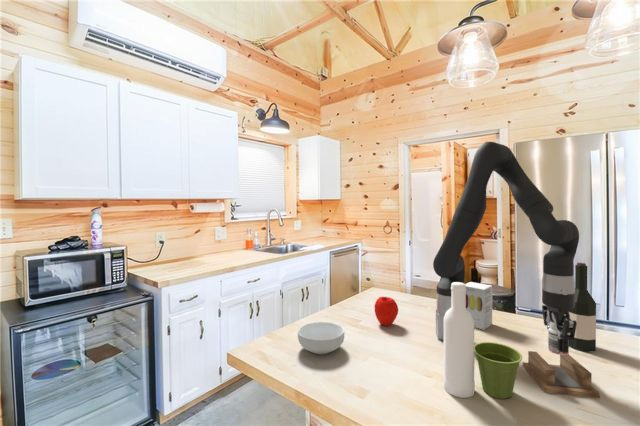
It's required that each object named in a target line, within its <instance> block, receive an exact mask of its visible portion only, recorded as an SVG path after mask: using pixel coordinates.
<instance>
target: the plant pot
mask: <svg viewBox="0 0 640 426" xmlns="http://www.w3.org/2000/svg"><path fill="white" fill-rule="evenodd" d="M474 355H475V358H476V361H477V366H478V370H479V371H478V372H479V376H480V382H481V387H482V390H483V391H484V392H486V393H487V394H488V395H489V396H490V397H493V398H495V399H501V400H502V399H503V400H504V399H507V398H511V397H512V396H513V392H514V386H515V384H516V383H515V382H516V376H517V372H518V368H519V366H520V362H521V361H522V360H523V355H522V353H521V352H519V350H517V349H516V348H514V347H511V346H509V345H506V344H502V343H498V342H492V341H484V342H481V341H480V342H477V343H474Z"/></svg>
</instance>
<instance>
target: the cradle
mask: <svg viewBox="0 0 640 426" xmlns="http://www.w3.org/2000/svg"><path fill="white" fill-rule="evenodd" d="M527 356H528V357H527V359H528V361H526V362H524V361H522V367H523V368H524V370H525V371H526V372H527V374H528V375H530V377H531V379H533V380H534V382H535V383H536V384H537V386H538V387H539V388H540V389H541V390H542V391H543V393H547V394H549V393H550V394H556V395H557V394H559V395H568V396H580V397H587V398H588V397H590V398H600V397H601V395H600V392H599V391H598V390H597V389H595V388H594V387H593V386H592V372H590V371H589V370H588V369H587V368H586V367H584V366H583V365H582V364H581V363H580V362H578V361H577V360H576V359H575V358H574V357H573V356H571V355H570V354H568V355H559V364H549V363H548V362H547V361H546V359H544V358H543V357H542V356H541V354H539V353H538V351H533V350H532V351H531V350H528V354H527Z"/></svg>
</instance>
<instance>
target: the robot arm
mask: <svg viewBox="0 0 640 426" xmlns="http://www.w3.org/2000/svg"><path fill="white" fill-rule="evenodd" d="M493 172H495V173H497V175H499V177H501V178H502V179H503V180H504V182H506V184H507V185H508V188H509V189H510V192H511V195H512V198H513V199H514V201H515V203H516V204H517V205H518V207H519V208H520V209H521V211H522V212H523V213H524V214H525V216H526V217H528V220H529V222H530V225H531V227H532V230H533V231H534V233H535V235H536V236H537V238H538V239H539V240H540V241H541V242H543V243H544V244H546V245H548V246H550V248H549V251H548V252H547V253H545V254H544V256H543V260H542V262H543V263H542V269H543V270H542V280H541V286H542V287H541V293H542V294H541V296H542V297H541V302H542V304H543V305H541V309H542V316H543V317H542V318H543V325H544V326H546V329H547V330H548V329H549V328H550V321H552V322H553V323H554V326H555V329H556V330H557V333H558V350H559V351H560V352H568V340H574V336H575V331H576V325H577V322H576V321H574V320H571V319H570V315H569V310H570V309H572V308H574V307H575V276H574V275H575V269H574V268H575V264H574V259H575V256H576V254H577V249H578V246H579V241H580V232H579V229H578V227H577V225H576V224H575V223H574V222H573V221H570V220H566V219H561V220H559V219H556V217H555V216H554V214H553V212H554V206H553V204H552V203H551V202H550V200H549V199H548V198H547V197H546V196H545V195H544V194H543V192H541V190H540V189H539V188H538V187H537V186H536V185H535V184H534V183H533V181H532V180H531V178H530V177H529V176H528V175H527V173H526V172H525V170H524V169H523V168H522V166H521V165H520V163H519V161H518V159H517V158H516V156H515V155H514V153H513V151H512V149H511V148H509V147H508V146H506V145H504V144H501V143H498V142H495V141H485V142H484V143H482V144H481V145H480V146H479V147H478V148H477V149H476V151H475V153H474V155H473V159H472V163H471V167H470V171H469V174H468V177H467V180H466V182H465V186H464V189H463V191H462V193H461V196H460V198H459V201H458V203H457V205H456V208H455V211H454V212H453V216H452V217H451V218H452V219H451V222H450V224H449V227H448V229H447V232H446V235H445V237H444V240H443V242H442V243H441V246H440V247H439V250H437V253H436V255H435V257H434V258H433V262H432V266H433V270H434V272H435V274H436V275H437V276H438V277H440V279H439V281H438V283H437V284H436V309H435V334H436V337H437V338H436V339H438V340H441V341H444V316H445V313H446V312H447V311H448V310H449V309H450V308H451V284H452V283H453V282H461V283H464V284H465V279H466V278H465V275H466V266H465V265H466V264H465V259H464V258H463V256H462V255H461V254H462V252H463V250H464V247H465V246H466V244H467V243H468V241H470V240H471V238H472V236H473V235H475V232H476V231H477V230H478V228H479V226H480V224H481V222H482V220H483V218H484V214H485V213H486V210H487V189H488V188H487V186H488V183H489V180H490V178H491V176H492V174H493ZM558 325H559V326H563V327H559V326H558ZM561 330H562V333H561ZM569 333H570V334H569Z"/></svg>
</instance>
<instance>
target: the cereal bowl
mask: <svg viewBox="0 0 640 426" xmlns="http://www.w3.org/2000/svg"><path fill="white" fill-rule="evenodd" d="M297 339H298V342H299V344H300V346H301V347H302V348H303V349H305V350H306V351H308V352H311V353H313V354H316V355H326V354H329V353H331V352H334V351H335V350H338V349H339V348H340V347H341V345H343V342H344V340H345V329H344V327H343V326H342V325H339V324H336V323H334V322H328V321H316V322H311V323H310V322H309V323H306V324H304V325H302V326H301V327H299V328H298V329H297Z"/></svg>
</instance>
